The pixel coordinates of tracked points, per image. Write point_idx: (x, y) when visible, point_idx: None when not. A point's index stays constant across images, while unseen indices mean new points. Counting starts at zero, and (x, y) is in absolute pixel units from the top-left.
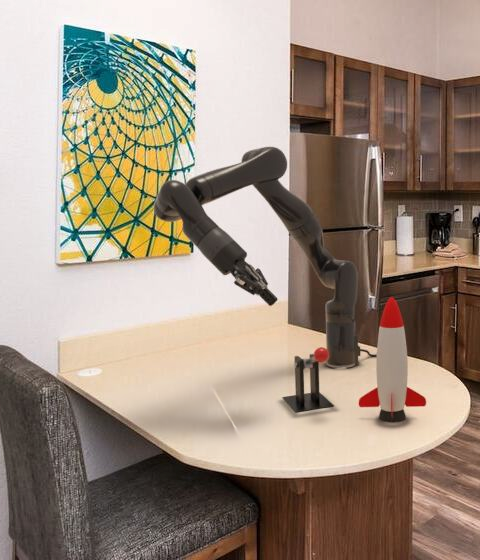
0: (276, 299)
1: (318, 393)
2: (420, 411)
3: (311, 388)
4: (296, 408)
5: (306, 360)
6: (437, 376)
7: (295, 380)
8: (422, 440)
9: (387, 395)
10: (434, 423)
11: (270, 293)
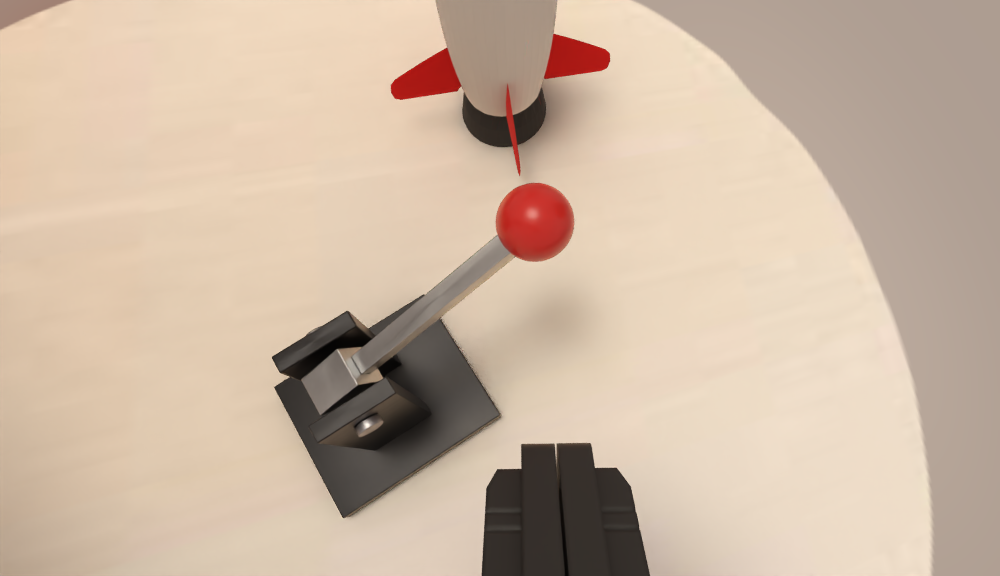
0: (564, 443)
1: None
2: (414, 48)
3: None
4: (467, 421)
5: (355, 371)
6: (75, 32)
7: (356, 446)
8: (629, 22)
9: (549, 54)
10: None
11: (581, 517)
